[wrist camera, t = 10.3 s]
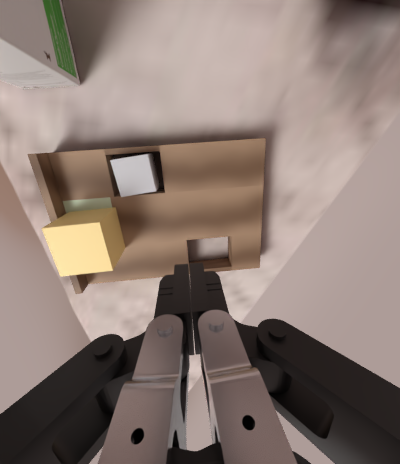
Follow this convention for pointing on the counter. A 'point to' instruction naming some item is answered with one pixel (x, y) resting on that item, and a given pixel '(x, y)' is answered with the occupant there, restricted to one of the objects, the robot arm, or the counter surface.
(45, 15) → the skincare box
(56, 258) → the mustard block
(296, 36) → the counter surface
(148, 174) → the grey block
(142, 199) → the box
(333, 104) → the counter surface
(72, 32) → the counter surface
